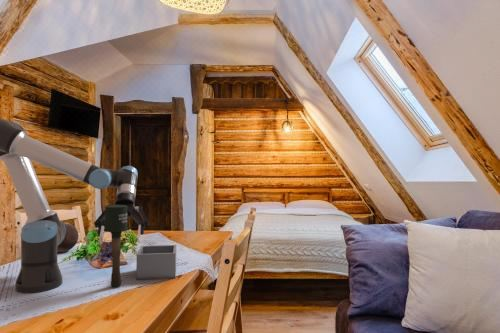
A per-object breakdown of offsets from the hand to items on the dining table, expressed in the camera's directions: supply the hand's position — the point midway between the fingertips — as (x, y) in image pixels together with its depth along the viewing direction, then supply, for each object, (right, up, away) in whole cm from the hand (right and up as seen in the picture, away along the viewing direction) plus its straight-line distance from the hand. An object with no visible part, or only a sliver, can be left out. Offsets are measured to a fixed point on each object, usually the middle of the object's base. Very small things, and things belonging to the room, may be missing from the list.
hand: (119, 241), depth 134 cm
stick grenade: (-1, -17, -1) cm, 17 cm away
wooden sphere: (-48, -16, +51) cm, 72 cm away
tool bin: (+10, -16, +15) cm, 25 cm away
